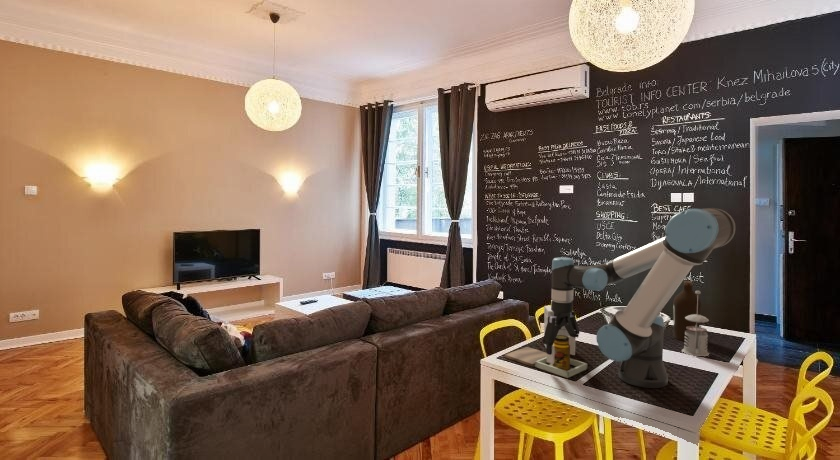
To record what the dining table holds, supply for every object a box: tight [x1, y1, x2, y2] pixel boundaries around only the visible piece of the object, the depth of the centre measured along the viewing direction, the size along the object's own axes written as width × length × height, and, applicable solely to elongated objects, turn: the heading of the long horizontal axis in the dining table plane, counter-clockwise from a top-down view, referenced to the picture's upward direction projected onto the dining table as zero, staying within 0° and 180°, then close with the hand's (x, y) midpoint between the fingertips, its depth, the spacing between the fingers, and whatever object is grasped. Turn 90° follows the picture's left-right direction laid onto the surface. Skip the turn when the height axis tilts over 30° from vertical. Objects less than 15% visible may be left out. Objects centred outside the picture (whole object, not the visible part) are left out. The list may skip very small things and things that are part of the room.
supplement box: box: [543, 305, 570, 348], centre depth 188 cm, size 10×9×17 cm
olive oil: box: [672, 280, 703, 342], centre depth 199 cm, size 11×11×25 cm
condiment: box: [548, 335, 573, 371], centre depth 167 cm, size 7×8×12 cm
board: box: [504, 346, 547, 367], centre depth 178 cm, size 13×14×1 cm
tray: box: [534, 357, 588, 379], centre depth 168 cm, size 14×13×2 cm
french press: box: [681, 290, 710, 357], centre depth 180 cm, size 10×12×25 cm
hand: (561, 358), depth 167 cm, fingers open, 12 cm apart
